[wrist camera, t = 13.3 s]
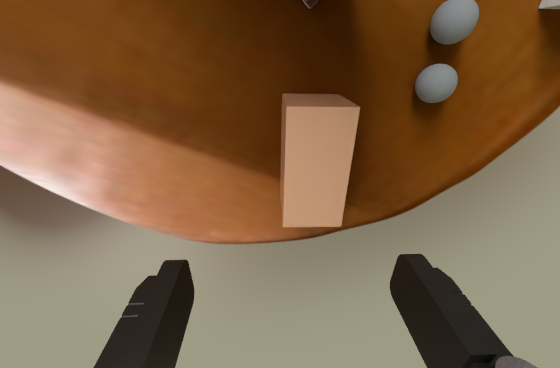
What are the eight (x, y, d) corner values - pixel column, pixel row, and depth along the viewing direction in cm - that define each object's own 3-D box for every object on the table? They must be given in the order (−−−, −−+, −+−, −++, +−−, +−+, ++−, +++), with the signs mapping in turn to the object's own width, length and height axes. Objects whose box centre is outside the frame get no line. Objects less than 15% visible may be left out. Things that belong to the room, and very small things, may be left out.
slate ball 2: (413, 62, 26) (433, 64, 22) (447, 63, 26) (472, 65, 23) (404, 99, 27) (422, 105, 24) (436, 99, 27) (458, 106, 24)
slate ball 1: (428, -1, 23) (453, -9, 20) (466, 0, 23) (497, -7, 20) (417, 44, 25) (439, 43, 22) (452, 45, 25) (480, 44, 22)
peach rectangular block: (282, 93, 27) (286, 106, 20) (339, 94, 27) (360, 107, 21) (280, 193, 32) (282, 227, 26) (327, 193, 32) (341, 226, 26)
